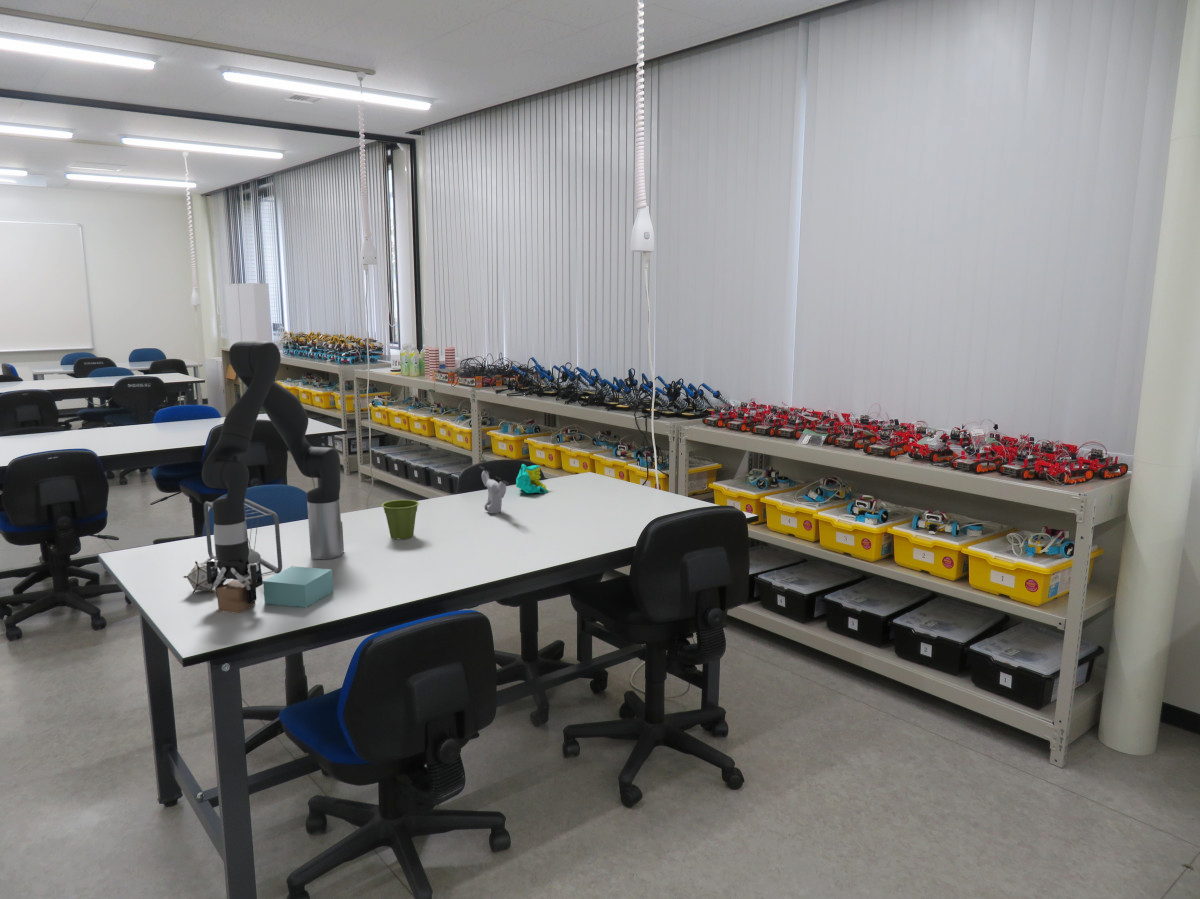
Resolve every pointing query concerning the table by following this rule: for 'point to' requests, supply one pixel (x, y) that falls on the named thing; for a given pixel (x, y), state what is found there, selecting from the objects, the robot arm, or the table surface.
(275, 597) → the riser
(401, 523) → the plant pot
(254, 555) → the newton's cradle
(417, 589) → the table surface
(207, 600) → the table surface
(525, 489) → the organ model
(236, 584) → the walnut cube
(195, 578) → the game die
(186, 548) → the table surface
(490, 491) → the figurine
